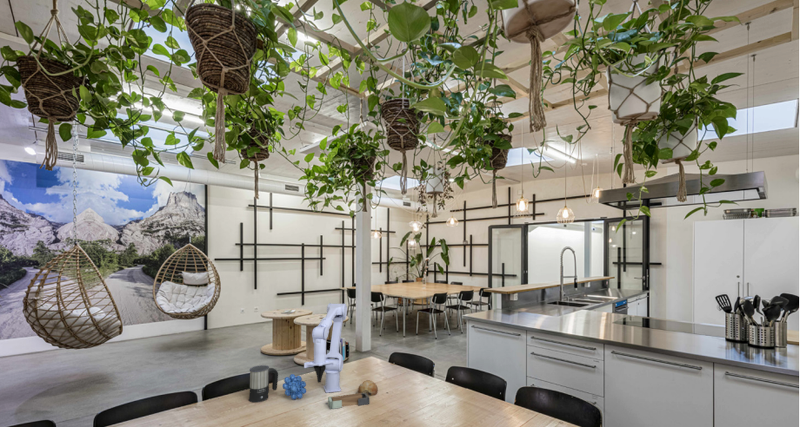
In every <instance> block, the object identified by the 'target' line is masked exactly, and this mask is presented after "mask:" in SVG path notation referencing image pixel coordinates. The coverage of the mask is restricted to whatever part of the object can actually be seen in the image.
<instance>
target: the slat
mask: <svg viewBox="0 0 800 427" xmlns="http://www.w3.org/2000/svg"><path fill="white" fill-rule="evenodd" d="M334 396H335V397H332V396H331V397H332V401H339V400H342V408H343V407H350V406H358V398H362V395H361V393H358V392H357V393H351V394H350V393H349V394H343V395H334Z"/></svg>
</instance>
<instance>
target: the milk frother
mask: <svg viewBox="0 0 800 427" xmlns="http://www.w3.org/2000/svg"><path fill="white" fill-rule="evenodd" d="M270 374H272V384H271V389H272V390H273V391H277V389H278V381H279V372H278V370H277V369H276V368H273V367H270V366H269V365H266V364H265V365H264V364H262V365H260V364H259V365H255V366H252V367H250V368H249V396H248V401H249V403H261V402H264V401H266V400H268V399H269V394H270Z"/></svg>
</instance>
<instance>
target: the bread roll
mask: <svg viewBox="0 0 800 427" xmlns="http://www.w3.org/2000/svg"><path fill="white" fill-rule="evenodd" d="M378 392H379V388H378V385H377V384H376V383H375V382H374V381H372V380H368V379H367V380H364V381H362V383H361V384H359V386H358V388H357V393H367V395H368V396H369V397H373V396H376V395H377V394H378Z"/></svg>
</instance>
